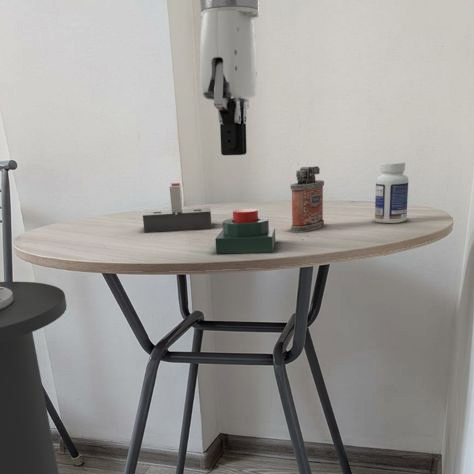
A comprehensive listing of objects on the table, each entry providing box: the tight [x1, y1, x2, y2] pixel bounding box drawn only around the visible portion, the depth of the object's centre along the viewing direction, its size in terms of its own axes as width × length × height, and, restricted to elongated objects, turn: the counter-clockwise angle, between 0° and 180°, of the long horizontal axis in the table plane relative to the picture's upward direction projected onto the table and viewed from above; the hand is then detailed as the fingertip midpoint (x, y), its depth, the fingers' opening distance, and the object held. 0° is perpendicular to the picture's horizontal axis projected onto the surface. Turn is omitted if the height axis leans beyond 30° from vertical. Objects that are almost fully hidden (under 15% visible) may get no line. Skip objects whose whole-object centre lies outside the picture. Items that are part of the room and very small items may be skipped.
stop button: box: [232, 208, 259, 223], centre depth 84 cm, size 4×4×2 cm
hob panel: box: [142, 207, 212, 233], centre depth 106 cm, size 9×12×3 cm
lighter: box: [290, 165, 325, 233], centre depth 98 cm, size 8×3×10 cm, turn 143°
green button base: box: [215, 216, 276, 255], centre depth 85 cm, size 8×8×4 cm
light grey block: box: [169, 182, 184, 213], centre depth 105 cm, size 4×2×5 cm, turn 3°
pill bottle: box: [374, 161, 409, 224], centre depth 100 cm, size 5×5×10 cm
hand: (233, 154), depth 81 cm, fingers closed
